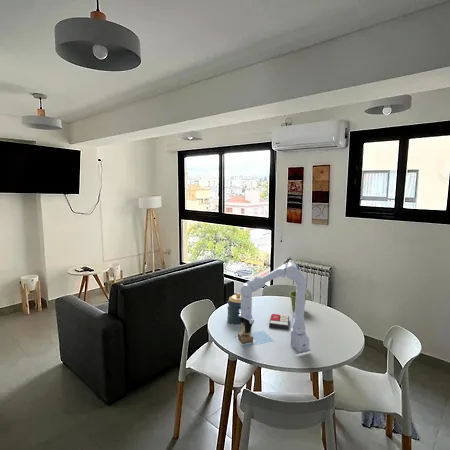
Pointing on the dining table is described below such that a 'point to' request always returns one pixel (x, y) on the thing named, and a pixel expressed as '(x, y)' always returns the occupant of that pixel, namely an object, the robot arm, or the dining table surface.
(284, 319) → the multicoloured piece
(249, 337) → the walnut base
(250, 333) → the maple block
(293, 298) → the plant pot
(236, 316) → the canister
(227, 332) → the dining table surface
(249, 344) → the board
